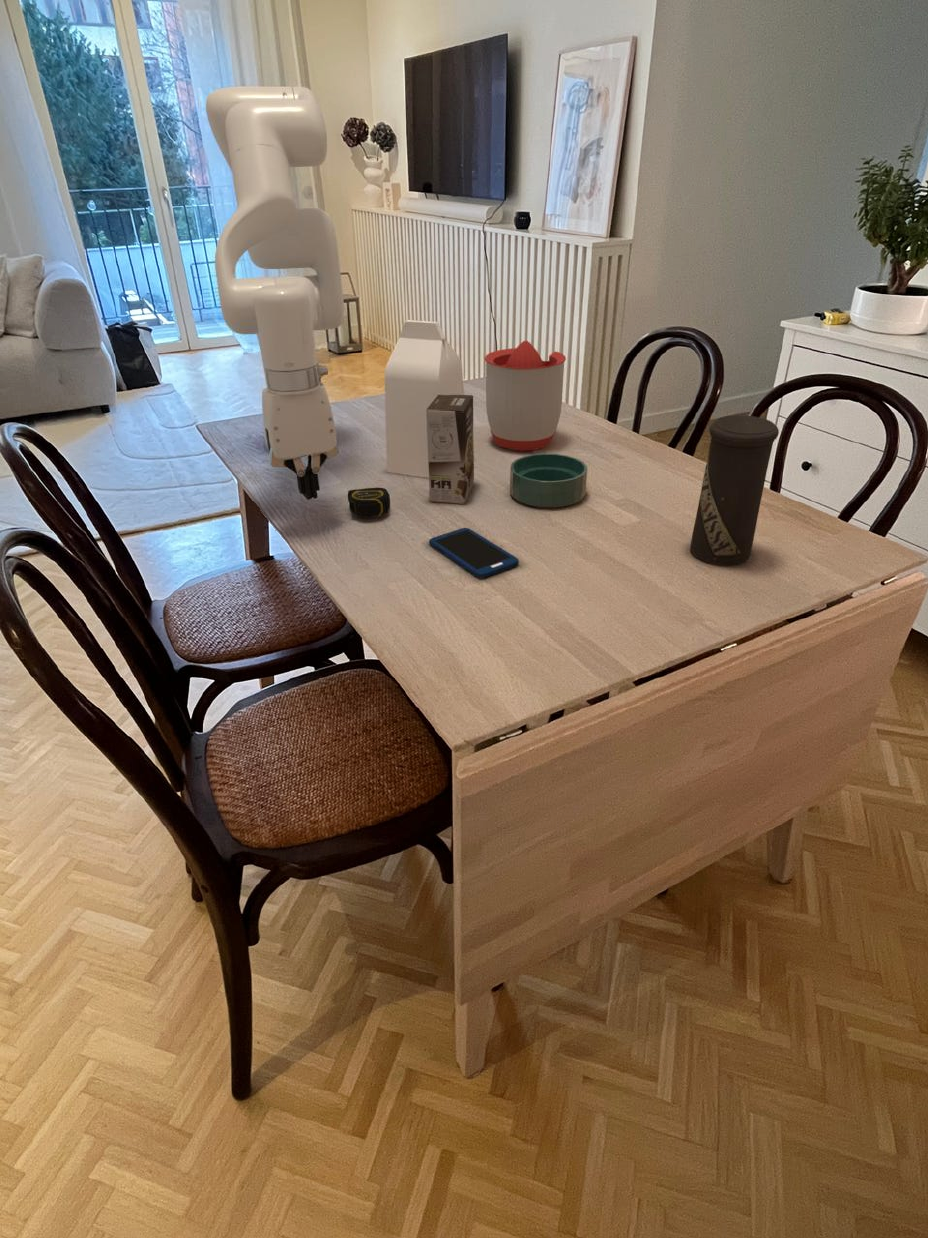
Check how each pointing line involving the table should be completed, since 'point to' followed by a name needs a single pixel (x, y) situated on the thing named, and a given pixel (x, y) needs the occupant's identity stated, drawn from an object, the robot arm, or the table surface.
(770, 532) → the table surface
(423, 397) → the milk
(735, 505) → the container
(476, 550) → the cell phone
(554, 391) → the citrus juicer
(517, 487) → the green bowl
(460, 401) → the coffee box
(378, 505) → the tape measure
